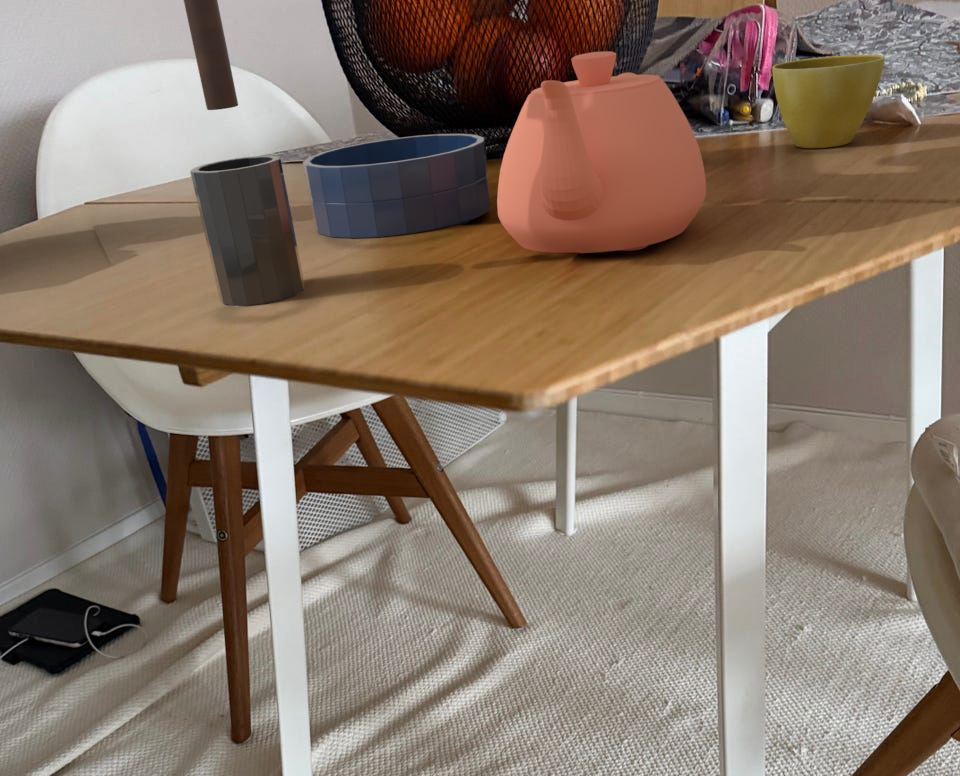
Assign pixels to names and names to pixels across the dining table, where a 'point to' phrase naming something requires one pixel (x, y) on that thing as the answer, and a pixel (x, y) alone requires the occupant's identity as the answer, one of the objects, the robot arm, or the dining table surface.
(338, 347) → the dining table surface
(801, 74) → the flower pot
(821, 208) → the dining table surface
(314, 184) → the bowl
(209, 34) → the stick
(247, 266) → the utensil cup
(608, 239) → the teapot
